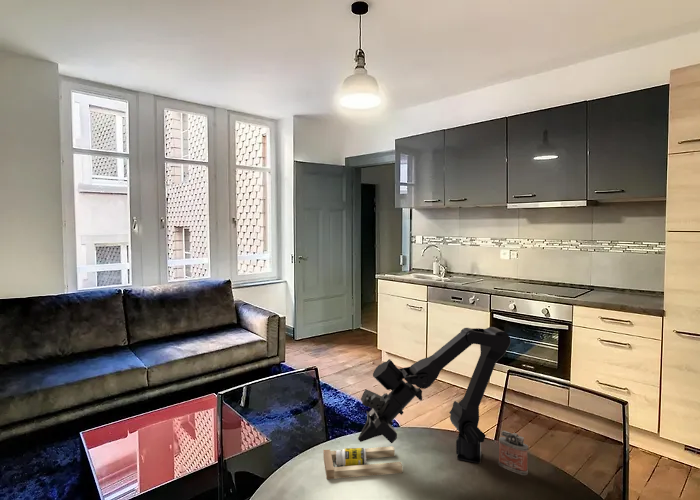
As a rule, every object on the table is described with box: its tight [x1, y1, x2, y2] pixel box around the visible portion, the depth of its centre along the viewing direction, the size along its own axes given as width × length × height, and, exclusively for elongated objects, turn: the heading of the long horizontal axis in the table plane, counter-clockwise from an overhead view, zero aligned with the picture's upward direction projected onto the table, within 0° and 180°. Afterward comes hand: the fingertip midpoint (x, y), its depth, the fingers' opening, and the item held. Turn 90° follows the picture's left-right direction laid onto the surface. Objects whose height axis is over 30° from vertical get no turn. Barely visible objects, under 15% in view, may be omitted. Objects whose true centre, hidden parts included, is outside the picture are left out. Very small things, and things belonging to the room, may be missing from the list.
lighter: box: [498, 430, 529, 476], centre depth 116 cm, size 8×3×10 cm, turn 47°
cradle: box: [323, 445, 403, 480], centre depth 118 cm, size 21×11×2 cm, turn 98°
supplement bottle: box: [335, 447, 367, 467], centre depth 118 cm, size 5×5×8 cm
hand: (359, 440), depth 118 cm, fingers closed
